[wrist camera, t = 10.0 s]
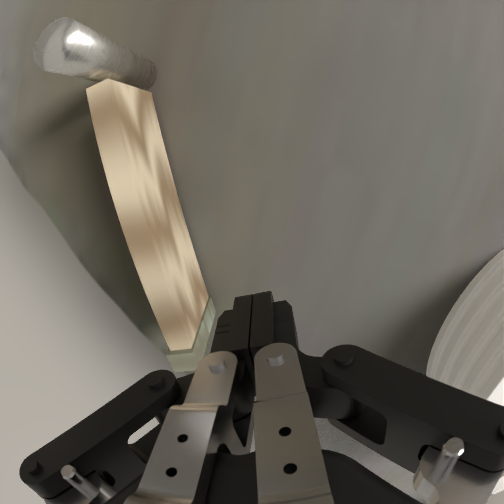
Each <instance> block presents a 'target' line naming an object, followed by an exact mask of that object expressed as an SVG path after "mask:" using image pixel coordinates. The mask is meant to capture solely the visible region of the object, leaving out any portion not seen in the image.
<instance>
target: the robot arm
mask: <svg viewBox="0 0 504 504" xmlns="http://www.w3.org/2000/svg"><path fill="white" fill-rule="evenodd" d="M216 327H217V328H216V331H215V335H214V339H213V343H212V348H211V352H210V354H209V355H207V356H205V357H204V358H203V359H202V360H201V361H200V362H199V363H198V366H197V368H196V371H195V373H192V374H190V375H187V376H184V377H180V378H177V379H176V377H175V375H174V374H173V373H172V372H170V371H168V370H157V371H154V372H151V373H149V374H148V375H146V376H145V377H144V378H142V379H140V380H139V381H138V382H136V383H135V384H133V385H132V386H131V387H129V388H128V389H126V390H125V391H124V392H122V393H121V394H119V395H118V396H117V397H115V398H114V399H112V400H111V401H109V402H108V403H107V404H105V405H104V406H102V407H101V408H99V409H98V410H97V411H95V412H94V413H92V414H91V415H89V416H88V417H87V418H85V419H84V420H82V421H81V422H79V423H78V424H76V425H75V426H73V427H72V428H70V429H69V430H67V431H66V432H64V433H63V434H61V435H60V436H58V437H57V438H55V439H54V440H52V441H51V442H49V443H48V444H46V445H45V446H43V447H42V448H40V449H39V450H37V451H36V452H34V453H32V454H31V455H29V456H28V457H27V458H26V459H25V460H24V461H23V463H22V464H21V467H20V478H21V479H22V481H23V482H24V483H25V484H27V485H28V486H29V487H30V488H31V489H33V490H34V491H35V492H36V493H37V494H38V495H39V496H40V497H41V498H43V499H44V500H45V502H46V504H422V503H420V502H419V501H417V500H415V499H414V498H412V497H410V496H409V495H407V494H405V493H404V492H402V491H401V490H399V489H397V488H396V487H394V486H393V485H391V484H389V483H388V482H386V481H385V480H383V479H382V478H380V477H379V476H377V475H376V474H374V473H373V472H371V471H370V470H368V469H367V468H365V467H364V466H362V465H361V464H359V463H358V462H357V461H355V460H353V459H352V458H350V457H348V456H346V455H343V454H340V453H338V452H334V451H330V450H323V449H321V446H320V442H319V438H318V434H317V429H316V425H315V421H314V417H316V418H328V420H329V422H330V423H331V424H332V425H333V426H335V427H336V428H338V429H339V430H341V431H343V432H344V433H346V434H347V435H349V436H350V437H352V438H354V439H355V440H357V441H359V442H360V443H362V444H363V445H365V446H367V447H368V448H370V449H372V450H373V451H375V452H377V453H379V454H380V455H382V456H384V457H385V458H387V459H389V460H391V461H392V462H394V463H396V464H398V465H400V466H401V467H403V468H405V469H407V470H409V471H411V472H412V473H414V477H413V487H414V489H415V491H416V492H417V494H418V495H420V496H421V497H422V498H424V500H425V501H426V502H427V504H485V503H486V501H487V500H488V498H489V496H490V495H491V493H492V491H493V489H494V488H495V486H496V484H497V482H498V480H499V478H500V477H501V476H502V474H503V473H504V406H502V405H499V404H496V403H494V402H491V401H488V400H486V399H483V398H480V397H478V396H475V395H472V394H470V393H467V392H465V391H462V390H460V389H457V388H455V387H452V386H450V385H447V384H445V383H442V382H440V381H437V380H435V379H432V378H430V377H427V376H425V375H423V374H420V373H418V372H415V371H413V370H411V369H408V368H406V367H404V366H401V365H399V364H396V363H394V362H392V361H389V360H387V359H385V358H383V357H380V356H378V355H376V354H373V353H371V352H369V351H367V350H364V349H362V348H360V347H357V346H354V345H339V346H336V347H333V348H331V349H329V350H328V351H327V352H326V353H325V354H324V355H323V357H312V356H308V355H305V354H304V353H302V352H301V351H300V350H299V346H298V338H297V332H296V327H295V322H294V317H293V311H292V306H291V305H290V304H289V303H288V302H287V301H286V300H284V301H278V302H274V300H273V296H272V292H271V291H267V292H262V293H256V294H254V295H253V294H251V295H246V296H240V297H235V300H234V306H233V310H227V311H224V312H223V314H222V315H221V316H220V317H219V318H218V322H217V326H216ZM254 396H256V398H257V401H255V402H254ZM154 417H155V418H156V419H157V420H158V422H159V423H160V424H158V425H157V426H156V427H155V428H153V429H152V430H151V431H149V432H148V433H147V434H146V435H144V436H143V437H142V438H140V439H139V440H138V441H136V442H135V443H133V444H128V439H129V437H130V436H131V435H132V434H133V433H134V432H136V431H137V430H138V429H140V428H141V427H142V426H144V425H145V424H146V423H147V422H149V421H150V420H151V419H153V418H154ZM253 428H254V434H255V452H251V453H250V449H251V442H252V435H253Z"/></svg>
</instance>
